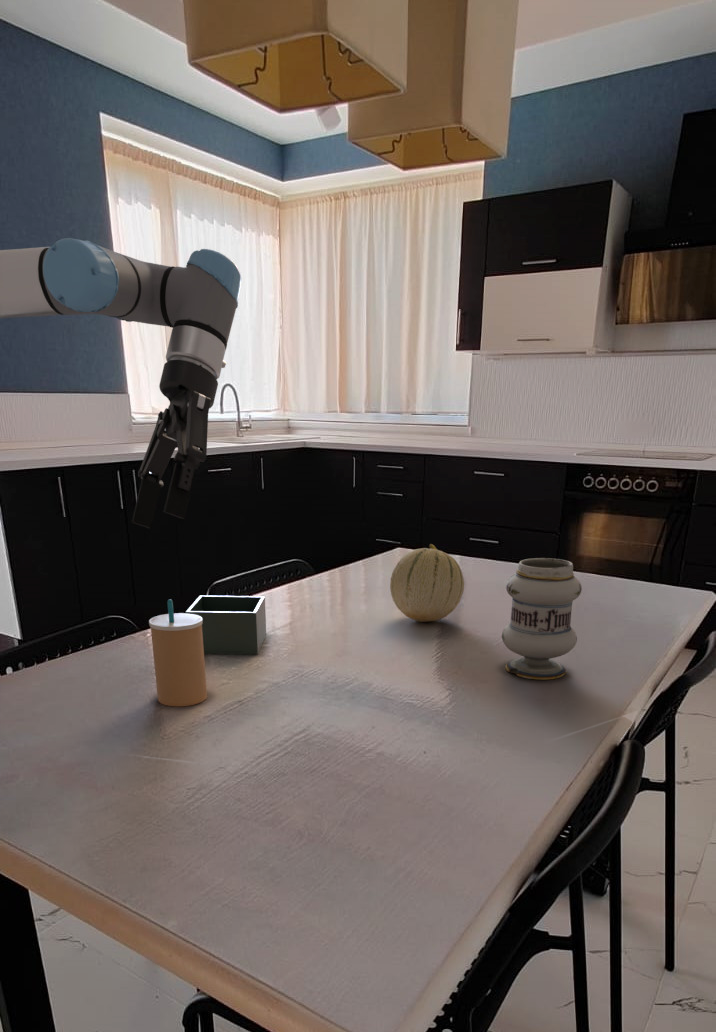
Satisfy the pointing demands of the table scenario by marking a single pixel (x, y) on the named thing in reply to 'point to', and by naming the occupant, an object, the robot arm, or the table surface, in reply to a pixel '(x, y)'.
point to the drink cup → (178, 658)
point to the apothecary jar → (541, 617)
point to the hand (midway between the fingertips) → (156, 521)
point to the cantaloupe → (427, 584)
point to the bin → (231, 623)
